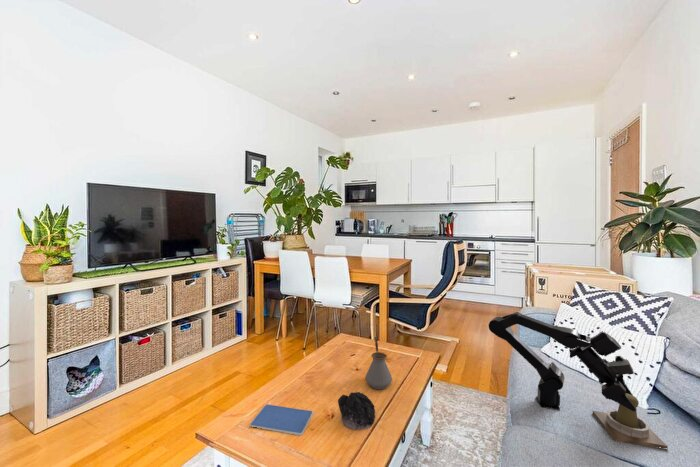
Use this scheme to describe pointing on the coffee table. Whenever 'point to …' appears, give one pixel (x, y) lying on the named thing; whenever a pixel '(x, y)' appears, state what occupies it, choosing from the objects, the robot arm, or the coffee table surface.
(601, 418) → the spacer seat
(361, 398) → the black rough lump
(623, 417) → the cork
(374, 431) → the coffee table surface
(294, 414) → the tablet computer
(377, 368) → the coffee pot
